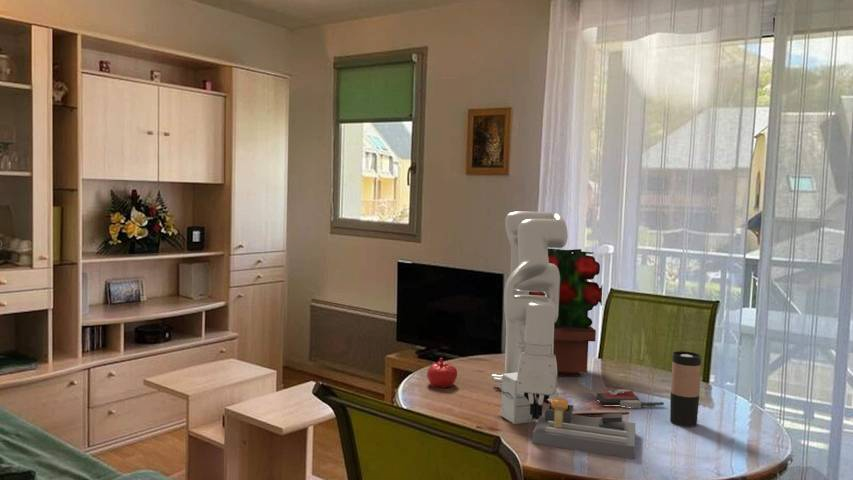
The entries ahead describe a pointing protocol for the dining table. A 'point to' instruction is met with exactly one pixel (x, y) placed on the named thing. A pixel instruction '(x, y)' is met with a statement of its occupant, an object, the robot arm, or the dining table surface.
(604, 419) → the black rocker
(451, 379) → the pomegranate
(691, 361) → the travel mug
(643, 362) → the dining table surface
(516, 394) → the supplement box
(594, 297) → the potted plant
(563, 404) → the orange button
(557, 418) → the golden rectangular block
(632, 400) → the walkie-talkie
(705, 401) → the dining table surface
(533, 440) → the panel
